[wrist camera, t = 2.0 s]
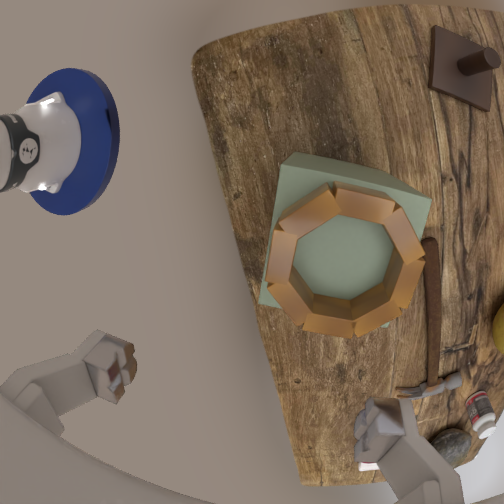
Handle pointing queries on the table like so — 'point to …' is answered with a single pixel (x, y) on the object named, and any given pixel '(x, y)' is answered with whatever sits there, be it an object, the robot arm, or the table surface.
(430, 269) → the hammer
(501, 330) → the fruit
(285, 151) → the table surface
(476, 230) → the table surface
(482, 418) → the pill bottle
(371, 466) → the soap
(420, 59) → the table surface
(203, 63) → the table surface
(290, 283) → the ring
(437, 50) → the stand
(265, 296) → the pedestal
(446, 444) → the stone
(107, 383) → the robot arm
